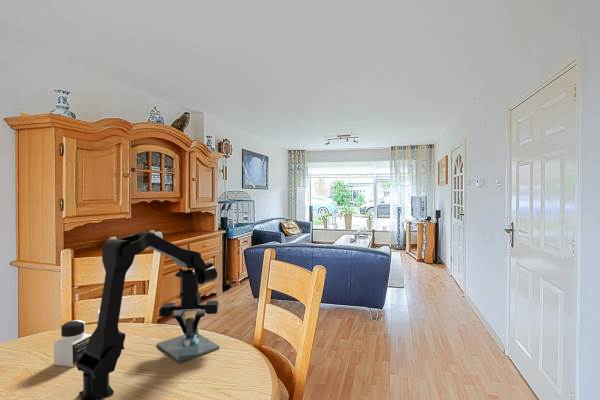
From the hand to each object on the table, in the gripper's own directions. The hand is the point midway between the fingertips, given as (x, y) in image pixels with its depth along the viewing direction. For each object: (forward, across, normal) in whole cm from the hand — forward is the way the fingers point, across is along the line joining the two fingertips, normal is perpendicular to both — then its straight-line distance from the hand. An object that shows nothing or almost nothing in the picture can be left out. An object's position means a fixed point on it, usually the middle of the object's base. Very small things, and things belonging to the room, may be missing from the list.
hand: (190, 333), depth 111 cm
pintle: (+4, 0, +6) cm, 7 cm away
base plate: (+4, +1, 0) cm, 5 cm away
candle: (+5, +30, -10) cm, 32 cm away
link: (+4, 0, +1) cm, 4 cm away
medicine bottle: (+5, +34, +4) cm, 35 cm away
